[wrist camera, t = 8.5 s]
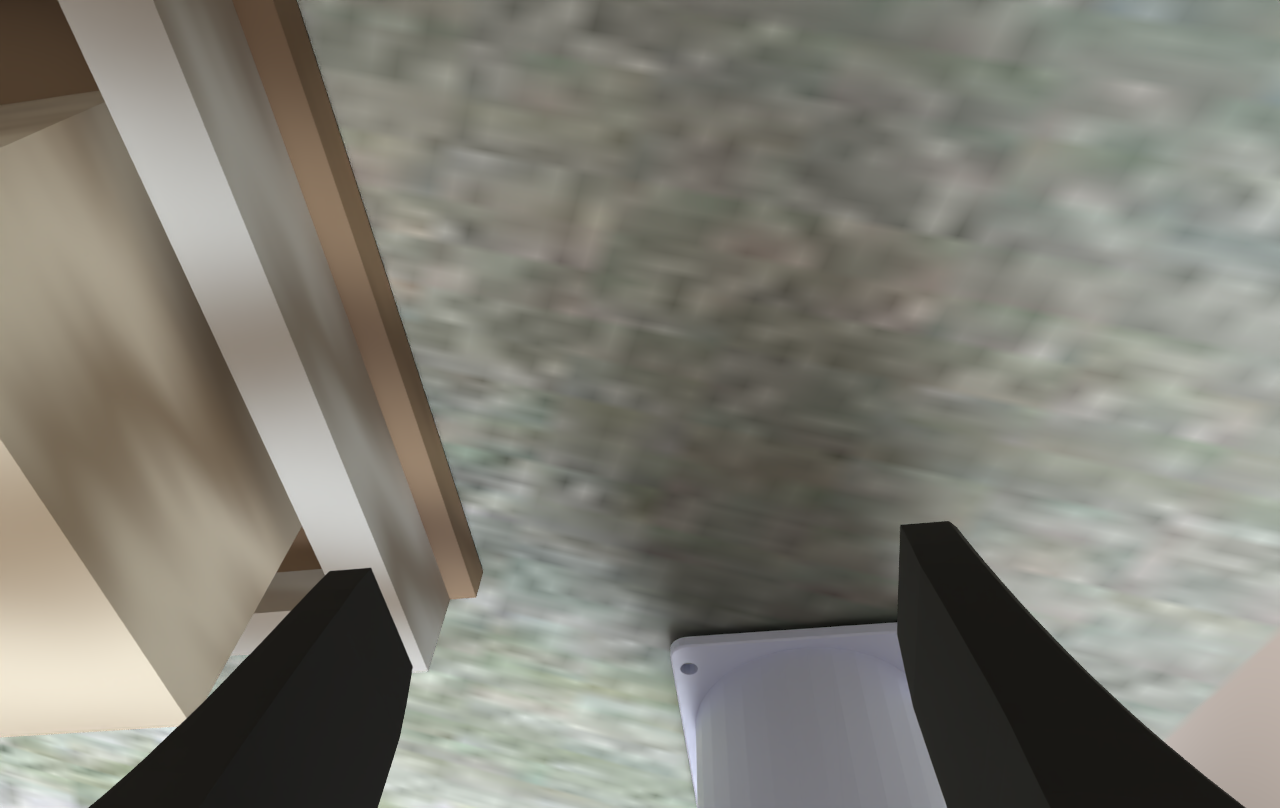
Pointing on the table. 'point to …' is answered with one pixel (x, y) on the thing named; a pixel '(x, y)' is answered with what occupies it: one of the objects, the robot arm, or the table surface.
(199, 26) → the track board
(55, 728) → the door panel
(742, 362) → the table surface
